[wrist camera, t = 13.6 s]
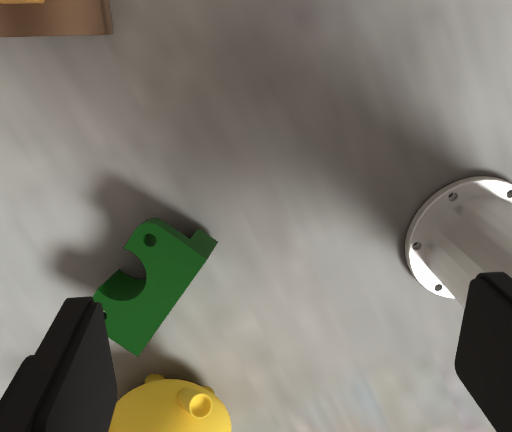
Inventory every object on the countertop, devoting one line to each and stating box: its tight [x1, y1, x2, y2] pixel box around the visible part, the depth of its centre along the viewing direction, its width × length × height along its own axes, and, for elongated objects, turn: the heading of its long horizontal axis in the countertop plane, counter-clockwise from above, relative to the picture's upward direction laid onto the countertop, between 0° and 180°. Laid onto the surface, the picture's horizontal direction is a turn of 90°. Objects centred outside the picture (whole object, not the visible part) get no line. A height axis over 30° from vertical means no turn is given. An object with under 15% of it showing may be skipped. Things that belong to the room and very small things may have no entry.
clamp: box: [92, 218, 218, 357], centre depth 39 cm, size 12×6×9 cm, turn 139°
